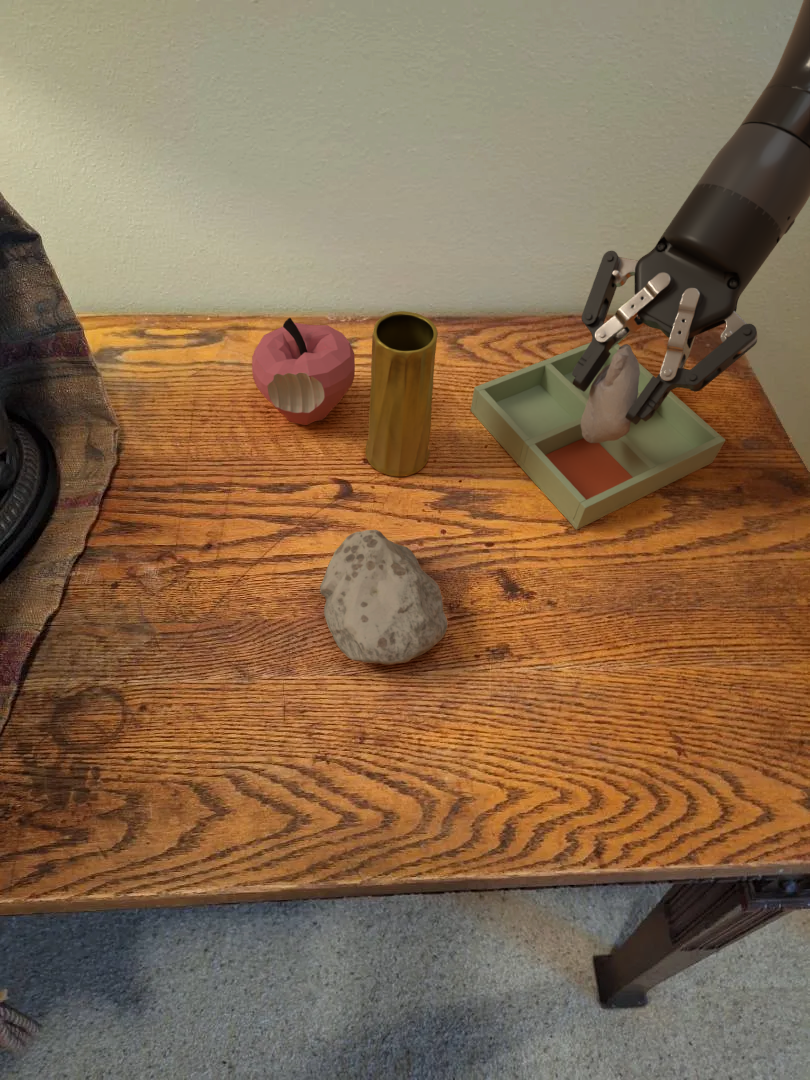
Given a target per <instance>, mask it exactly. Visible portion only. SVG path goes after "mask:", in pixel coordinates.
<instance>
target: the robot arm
mask: <svg viewBox="0 0 810 1080" xmlns="http://www.w3.org/2000/svg"><path fill="white" fill-rule="evenodd" d="M809 199H810V0H802V3H801V5H800V9H799V12H798V15H797V17H796V20H795V23H794V25H793V27H792V30H791V33H790V35H789V38H788V40H787V42H786V45H785V47H784V49H783V52H782V55H781V57H780V59H779V61H778V64H777V67H776V68H775V71H774V73H773V74H772V77H771V78H770V80H769V82H768V83H767V84H766V86H765V88H764V89H763V90H762V92H761V94H760V95H759V97H758V99H756V101H755V103H754V104H753V105H752V107H751V109H750V110H749V112H748V114H747V115H746V116H745V118H744V119H743V121H742V122H741V124H740V125H739V127H738V128H737V129H736V130H735V132H734V133H733V134H732V136H731V137H730V138H729V139H728V140H727V142H726V143H725V144H724V145H723V146H722V147H721V148H720V150H719V151H718V152H717V153H716V155H715V156H714V158H713V159H712V160H711V162H710V163H709V165H708V166H707V168H706V169H705V170H704V172H703V174H702V175H701V176H700V178H699V180H698V181H697V182H696V184H695V186H694V187H693V189H692V190H691V192H690V193H689V195H688V196H687V197H686V199H685V200H684V202H683V203H682V205H681V207H680V208H679V209H678V211H677V213H676V214H675V215H674V217H673V218H672V220H671V222H670V223H669V224H668V225H667V227H666V228H665V230H664V232H663V233H662V235H661V236H660V238H659V240H658V241H657V243H656V245H655V246H654V247H653V248H652V249H651V250H650V251H649V252H647V253H646V254H645V255H642V257H640V258H639V259H638V260H637V259H631V258H627V257H621V256H619V254H618V253H617V251H615V250H608V251H606V252H605V253H604V254H603V256H602V257H601V261H600V264H599V266H598V270H597V273H596V275H595V277H594V281H593V283H592V285H591V289H590V292H589V294H588V297H587V300H586V303H585V306H584V308H583V311H582V314H581V321H582V323H583V324H584V325H585V327H586V328H587V329H588V331H589V332H590V333H591V341H590V342H591V343H590V342H589V343H590V345H589V346H588V348H587V349H586V351H585V352H584V354H583V355H582V357H581V358H580V360H579V361H578V363H577V364H576V365H575V367H574V369H573V373H572V375H573V376H574V377H575V379H574V380H573V385H574V386H575V387H577V388H578V389H580V390H581V391H583V392H584V391H586V390H587V388H588V387H589V385H590V384H591V383H592V381H593V380H594V378H595V377H596V375H597V374H598V372H599V371H600V369H601V368H602V366H603V365H604V364H605V362H606V361H607V359H608V358H609V356H610V355H611V353H610V352H609V350H610V349H612V348H613V347H614V346H615V345H617V344H618V345H619V343H620V342H622V341H623V340H624V339H626V337H628V336H629V335H631V334H635V332H638V330H639V329H640V328H642V327H643V326H645V325H646V326H647V327H648V328H652V329H656V330H660V331H661V332H662V333H663V334H664V335H665V336H666V337H667V338H668V342H667V346H666V352H665V355H664V358H663V361H662V365H661V367H660V370H659V373H658V374H657V376H654V375H653V377H652V378H651V380H650V381H649V383H648V384H647V385H646V387H645V388H644V390H643V391H642V392H641V394H640V395H639V397H638V398H637V400H636V401H635V402H634V404H633V405H632V407H631V408H630V409H629V411H628V412H627V414H626V416H625V418H626V419H628V420H629V421H630V422H632V423H634V424H635V425H636V424H637V423H638V422H639V421H640V420H641V419H642V420H643V421H645V422H646V421H647V420H649V419H650V418H651V417H652V416H653V415H654V413H655V412H656V410H657V409H658V408H659V406H660V405H661V403H662V402H663V401H664V399H665V398H666V396H667V395H668V394H669V392H670V391H671V392H672V391H673V390H674V389H677V388H678V389H679V388H680V389H686V390H689V391H692V392H694V393H696V392H700V391H701V390H703V389H705V387H706V386H708V385H709V384H710V383H711V382H713V381H714V380H715V379H716V378H717V377H718V376H720V375H721V374H722V373H723V372H725V371H726V370H727V369H728V368H729V367H731V365H733V364H734V363H735V362H736V361H738V360H739V359H740V358H741V357H742V356H744V355H745V354H746V353H748V352H749V351H750V350H751V349H752V348H753V347H755V346H756V344H757V343H758V331H757V328H756V327H757V326H756V325H754V324H753V323H747V322H746V321H745V319H743V318H742V317H741V316H740V315H739V313H737V309H738V301H739V300H740V296H741V295H742V293H743V292H744V291H745V289H746V288H747V287H748V285H749V284H750V282H751V281H752V280H753V278H754V277H755V276H756V274H757V273H758V272H759V270H760V269H761V267H762V266H763V264H764V263H765V262H766V261H767V258H769V256H770V254H771V253H772V252H773V251H774V249H775V247H777V245H778V244H779V242H780V241H781V239H782V238H783V236H784V235H787V234H788V232H789V230H790V229H791V228H792V226H793V225H794V223H795V222H796V218H797V217H798V216H799V214H800V213H801V212H802V210H803V208H804V207H805V205H806V204H807V202H808V200H809ZM631 277H634V295H633V296H632V297H631V298H629V300H626V302H625V303H623V305H621V306H620V307H619V308H618V309H617V310H616V312H615V314H614V315H612V316H611V318H609V319H608V320H607V321H606V318H607V315H608V312H609V310H610V307H611V304H612V302H613V299H614V296H615V294H616V291H617V288H621V287H623V286H624V285H625V284H626V282H627V281H628V280H629V278H631ZM723 324H724V325H726V326H725V328H724V330H723V331H722V332H721V334H720V342H721V343H720V344H719V345H718V346H717V347H715V348H714V349H713V350H711V351H710V352H709V353H708V354H707V355H706V356H705V357H703V358H702V359H701V360H700V361H699V362H698V363H696V364H695V365H694V366H693V367H692V368H691V369H689V368H685V366H686V363H687V361H688V359H689V357H690V354H691V352H692V348H693V346H694V343H695V342H694V341H695V339H696V336H698V335H701V334H703V333H705V332H708V331H710V330H712V329H715V328H718V327H720V326H722V325H723Z"/></svg>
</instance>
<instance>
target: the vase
mask: <svg viewBox="0 0 810 1080" xmlns="http://www.w3.org/2000/svg"><path fill="white" fill-rule="evenodd" d="M371 337H372V339H371V363H370V382H371V383H370V392H369V408H368V409H369V410H368V437H367V441H366V446H365V452H364V453H365V457H366V460H367V462H368V463H369V465H370V467H372V468H373V469H375V471H377V472H379V473H381V474H384V475H386V476H389V477H398V478H399V477H407V476H412V475H414V474H416V473H418V472H420V471H421V470H422V469H424V468H425V466H426V465H427V463H428V461H429V459H430V455H431V454H430V442H431V441H430V440H431V429H432V410H433V409H432V407H433V391H434V377H435V376H434V375H435V363H436V362H435V360H436V351H437V344H438V343H437V342H438V329H437V327H436V325H435V323H434V322H433V321H432V320H431V319H430V318H428V317H426V316H425V315H422V314H420V313H417V312H412V311H405V310H403V311H402V310H399V311H393V312H389V313H387V314H385V315H383V316H381V317H380V318H379V319H378V320H376V322H375V324H374V327H373V330H372V336H371Z"/></svg>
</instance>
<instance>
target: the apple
mask: <svg viewBox="0 0 810 1080" xmlns="http://www.w3.org/2000/svg"><path fill="white" fill-rule="evenodd" d="M355 356H356V355H355V352H354V348H353V347H352V345H351V342H350V341H349V340H348V339H347V338H346V336H345V335H344V334H343V332H341V331H339V330H338V329H336V328H334V327H332V326H330V325H327V324H307V323H300V322H294V321H293V320H292V318H291V317H289V318H287V319H286V320H285V321H284V322H283V325H282V326H280V327H278V328H275V329H274V330H272V331H269V332H267V333H265V334H264V335H263V336H261V339H260V341H258V344H257V346H256V347H255V349H254V350H253V354H252V356H251V371H252V372H251V373H252V379H253V381H254V384H255V386H256V388H257V390H259V392H260V393H261V395H262V396H263V397H264V398H265V399H266V400H267V401H268V402H269V403H271V405H273V406H274V408H275V409H276V410H277V411H278V412H279V413H280V414H281V415H283V416H284V417H285V419H286V420H287V421H288V422H289V423H292V424H297V425H303V426H308V425H310V424H312V423H314V422H318V421H322V420H323V421H324V419H325V418H326V417H327V416H328V415H329V414H330V412H331V411H332V410H333V409H334V408H336V406H337V405H338V404H339V402H340V401H341V400H342V399H343V398H344V397H345V395H346V393H348V391H349V389H350V388H351V387H352V385H353V382H354V379H355V375H356V373H355V371H356V360H355V359H356V357H355Z"/></svg>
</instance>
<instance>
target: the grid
mask: <svg viewBox="0 0 810 1080" xmlns="http://www.w3.org/2000/svg"><path fill="white" fill-rule="evenodd" d="M590 343H591V341H590V342H587V343H585V344H583V345H580V346H577V347H575V348H572V349H570V350H567V351H564V352H562V353H559V354H556V355H554V356H551V357H548V358H546V359H544V360H541V361H539V362H536V363H533V364H531V365H528V366H526V367H522V368H520V369H518V370H515V371H513V372H510V373H507V374H505V375H503V376H500V377H497V378H495V379H492V380H489V381H486V382H484V383H481V384H479V385H476V386H474V388H473V394H472V399H471V406H470V412H471V413H472V415H473V416H474V417H475V418H476V419H477V420H478V421H479V422H480V423H481V425H483V427H484V428H485V429H486V430H487V432H489V433H490V435H491V436H492V437H493V438H494V439H495V440H496V441H497V443H498V444H499V445H500V447H502V448H503V449H504V451H506V453H507V454H508V455H509V456H510V457H511V458H512V460H513V461H514V462H515V463H516V464H517V465H518V467H519V468H521V470H522V471H523V472H524V473H525V474H526V475H527V476H528V478H530V480H531V481H532V482H533V483H534V484H535V485H536V486H537V488H538V489H539V490H540V491H541V492H542V493H543V494H544V495H545V496H546V497H547V499H548V500H549V501H550V502H551V503H552V504H553V505H554V506H555V508H556V509H557V510H558V511H559V512H560V513H561V514H562V516H563V517H564V518H565V519H566V520H567V521H568V523H570V525H571V526H572V527H573V528H574V529H575V530H576V531H577V530H580V529H581V528H584V527H586V526H587V525H589V524H591V523H593V522H595V521H597V520H599V519H601V518H603V517H605V516H608V515H610V514H612V513H613V512H615V511H618V510H620V509H622V508H624V507H625V506H628V505H630V504H633V503H634V502H636V501H638V500H640V499H642V498H644V497H646V496H649V495H650V494H652V493H654V492H656V491H658V490H660V489H662V488H664V487H666V486H668V485H670V484H672V483H674V482H676V481H679V480H680V479H682V478H684V477H686V476H688V475H691V474H692V473H695V472H696V471H699V470H700V469H703V468H704V467H707V466H708V465H710V464H712V463H713V462H714V461H715V459H716V458H717V456H718V454H719V453H720V451H721V450H722V448H723V446H724V444H725V442H726V439H725V438H724V437H723V436H722V435H720V433H719V432H717V431H716V430H715V429H714V428H713V427H712V426H711V425H710V424H708V422H706V421H705V420H704V419H703V418H702V417H701V416H699V415H698V414H697V413H696V412H695V411H693V409H691V407H689V406H688V405H687V404H686V403H685V402H683V400H681V399H680V397H678V396H677V395H676V394H674V393H673V391H672V390H671V391H670V392H669V394H668V395H667V396H666V398H665V399H664V401H663V402H662V403H661V405H660V406H659V408H658V409H657V410H656V412H655V413H654V415H653V416H652V417H651V418H650V419H649V420H647V421H646V422H645V421H643V420H642V419H641V420H640V421H639V422H638V423H637V424H636V425H635V424H634V423H632V422H631V423H630V429H629V432H628V433H627V434H626V435H624V436H623V437H621V438H619V439H618V440H615V441H605V442H601V443H589V442H587V441H586V440H585V439H584V437H583V435H582V429H581V419H582V415H583V413H584V410H585V407H586V404H587V401H588V399H589V393H590V388H591V385H592V383H593V382H594V380H595V379H596V377H597V375H598V374H599V373H600V372H601V371H602V369H603V368H604V367H605V366H607V365H609V364H610V363H611V362H612V357H613V355H614V354H615V353H616V352H617V350H619V347H621V346H622V345H620V344H619V343H618V344H617V345H615V346H614V347H613V348H612V349H610V350H609V352H610V353H611V355H610V356H609V358H608V359H607V361H606V362H605V364H604V365H603V366H602V368H601V369H600V371H599V372H598V374H597V375H596V377H595V378H594V380H593V381H592V383H591V384H590V385H589V387H588V388H587V390H586V391H584V392H583V391H581V390H580V389H578V388H577V387H575V386H574V385H573V380H574V379H575V377H574V376H573V375H572V373H573V369H574V367H575V365H576V364H577V363H578V361H579V360H580V358H581V357H582V355H583V354H584V352H585V351H586V349H587V348H588V346H589V345H590ZM638 363H639V369H640V376H639V385H638V397H639V395H640V394H641V392H642V391H643V390H644V388H645V387H646V385H647V384H648V383H649V381H650V380H651V378H652V377H653V376H654V374H652V373H651V372H650V371H649V370H648V369H647V368H645V366H643V364H641V362H639V361H638ZM638 397H637V398H638Z"/></svg>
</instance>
